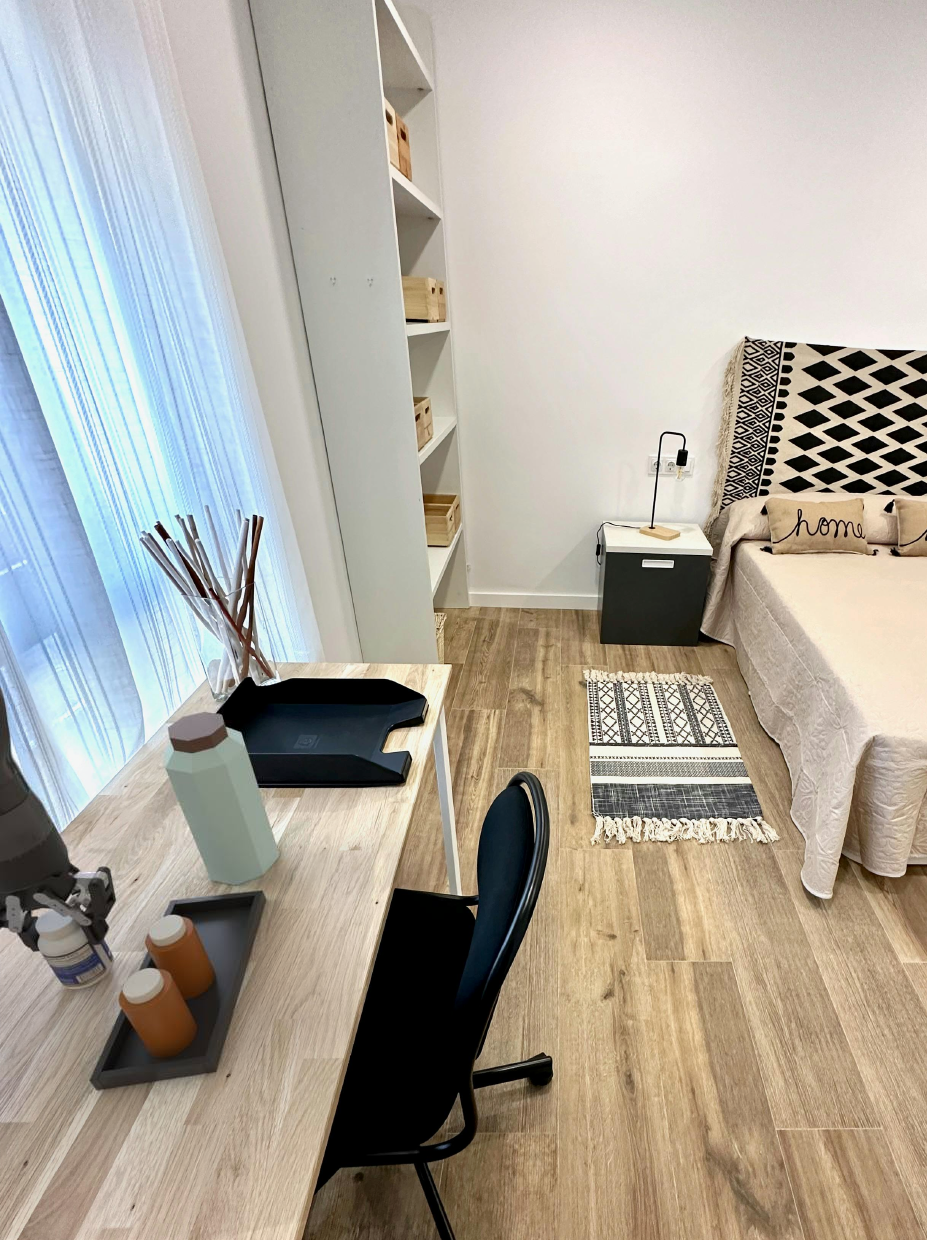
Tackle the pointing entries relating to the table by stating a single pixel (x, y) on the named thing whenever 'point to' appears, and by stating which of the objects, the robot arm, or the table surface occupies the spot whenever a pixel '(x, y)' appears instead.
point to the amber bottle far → (158, 1012)
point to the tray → (228, 946)
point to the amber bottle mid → (180, 954)
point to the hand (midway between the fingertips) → (70, 941)
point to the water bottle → (220, 798)
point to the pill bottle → (71, 951)
